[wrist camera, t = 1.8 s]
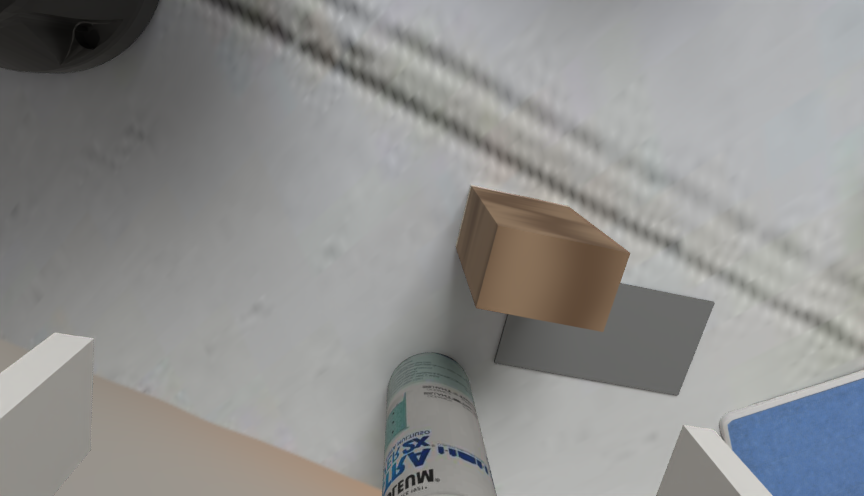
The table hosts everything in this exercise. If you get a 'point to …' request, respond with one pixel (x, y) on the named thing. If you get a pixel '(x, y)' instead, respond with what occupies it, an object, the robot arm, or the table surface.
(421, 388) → the spray paint can
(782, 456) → the tablet computer
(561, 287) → the walnut block
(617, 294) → the mat
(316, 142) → the table surface
